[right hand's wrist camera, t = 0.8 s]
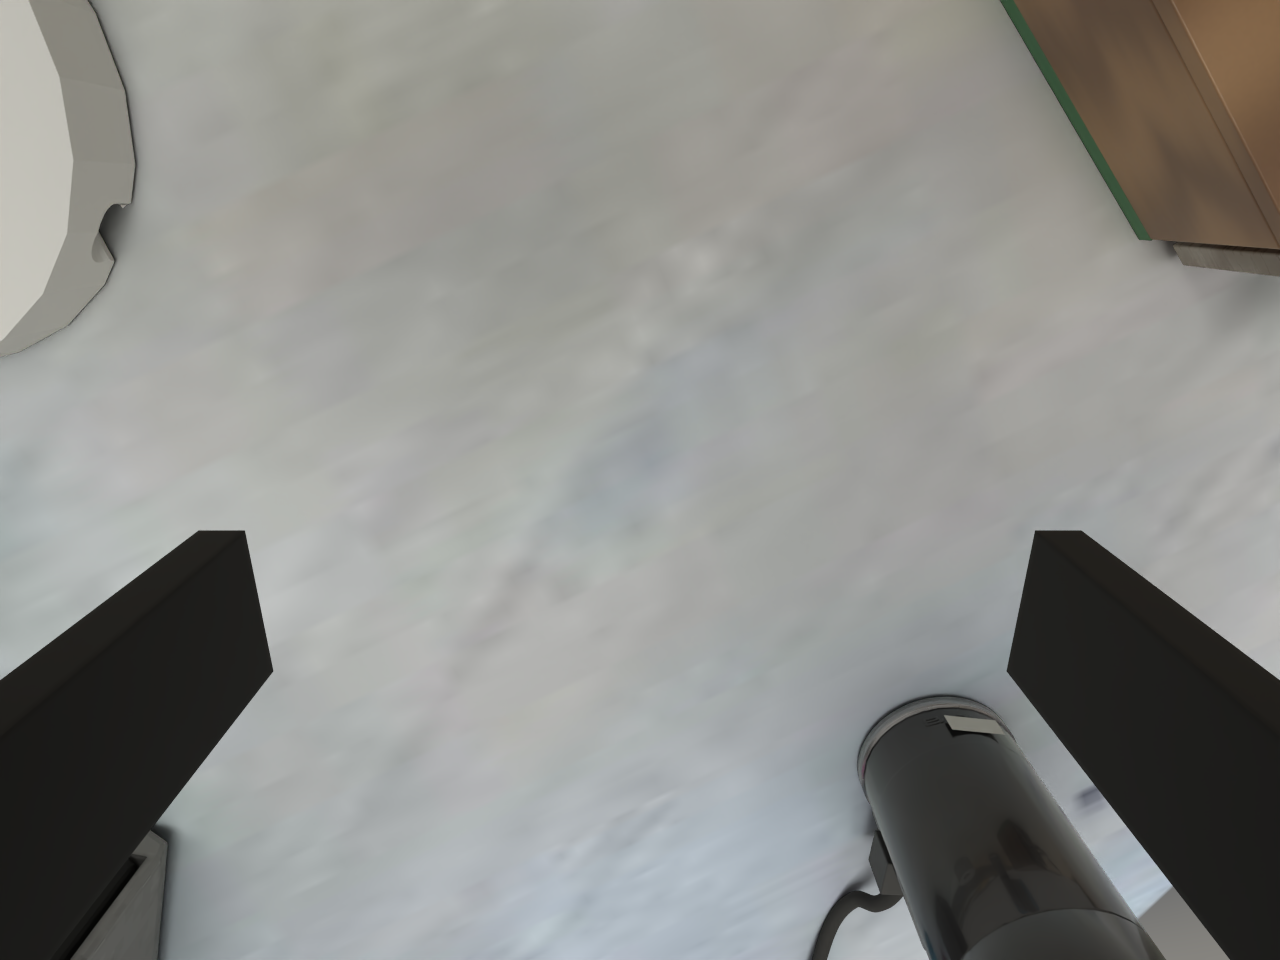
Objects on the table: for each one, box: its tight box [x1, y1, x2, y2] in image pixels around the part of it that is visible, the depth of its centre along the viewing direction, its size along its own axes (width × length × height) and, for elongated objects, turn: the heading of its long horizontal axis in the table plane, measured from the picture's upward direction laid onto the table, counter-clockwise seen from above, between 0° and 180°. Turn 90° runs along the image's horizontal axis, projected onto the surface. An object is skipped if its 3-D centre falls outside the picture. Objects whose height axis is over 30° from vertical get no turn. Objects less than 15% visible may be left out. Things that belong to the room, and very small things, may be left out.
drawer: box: [1173, 241, 1280, 277], centre depth 29 cm, size 25×8×7 cm, turn 40°
